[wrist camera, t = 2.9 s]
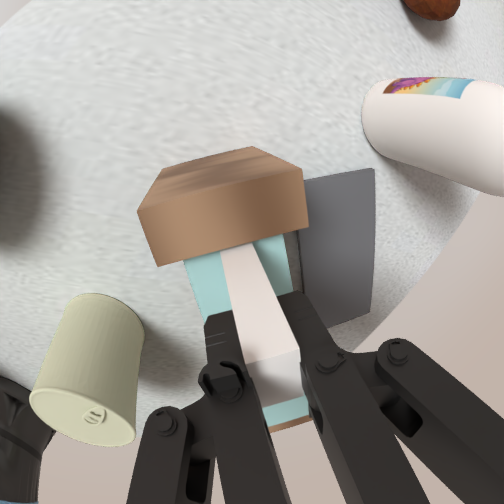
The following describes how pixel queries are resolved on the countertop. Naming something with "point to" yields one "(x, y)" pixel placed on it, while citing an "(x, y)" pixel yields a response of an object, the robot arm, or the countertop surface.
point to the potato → (434, 8)
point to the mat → (339, 245)
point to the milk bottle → (440, 127)
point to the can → (92, 372)
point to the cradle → (223, 208)
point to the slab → (218, 300)
